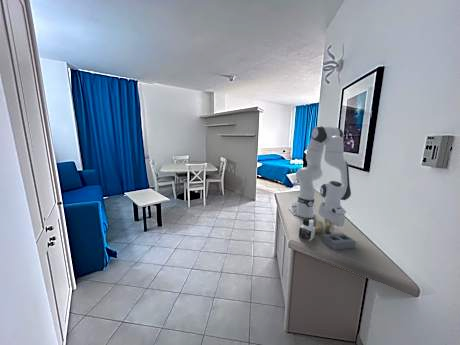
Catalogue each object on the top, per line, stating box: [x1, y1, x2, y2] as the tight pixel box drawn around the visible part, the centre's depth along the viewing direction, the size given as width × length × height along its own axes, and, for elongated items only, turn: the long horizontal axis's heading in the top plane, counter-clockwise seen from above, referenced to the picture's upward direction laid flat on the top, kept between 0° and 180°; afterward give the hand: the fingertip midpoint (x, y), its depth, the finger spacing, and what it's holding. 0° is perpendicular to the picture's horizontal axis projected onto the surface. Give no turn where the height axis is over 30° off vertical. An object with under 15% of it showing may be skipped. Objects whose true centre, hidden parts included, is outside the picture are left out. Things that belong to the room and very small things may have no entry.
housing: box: [321, 232, 357, 251], centre depth 119 cm, size 14×10×4 cm
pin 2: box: [324, 220, 332, 234], centre depth 133 cm, size 3×3×8 cm
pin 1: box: [315, 220, 323, 236], centre depth 130 cm, size 3×3×8 cm
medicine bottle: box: [298, 217, 316, 242], centre depth 124 cm, size 7×7×12 cm
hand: (328, 226), depth 133 cm, fingers closed on pin 2, 3 cm apart
